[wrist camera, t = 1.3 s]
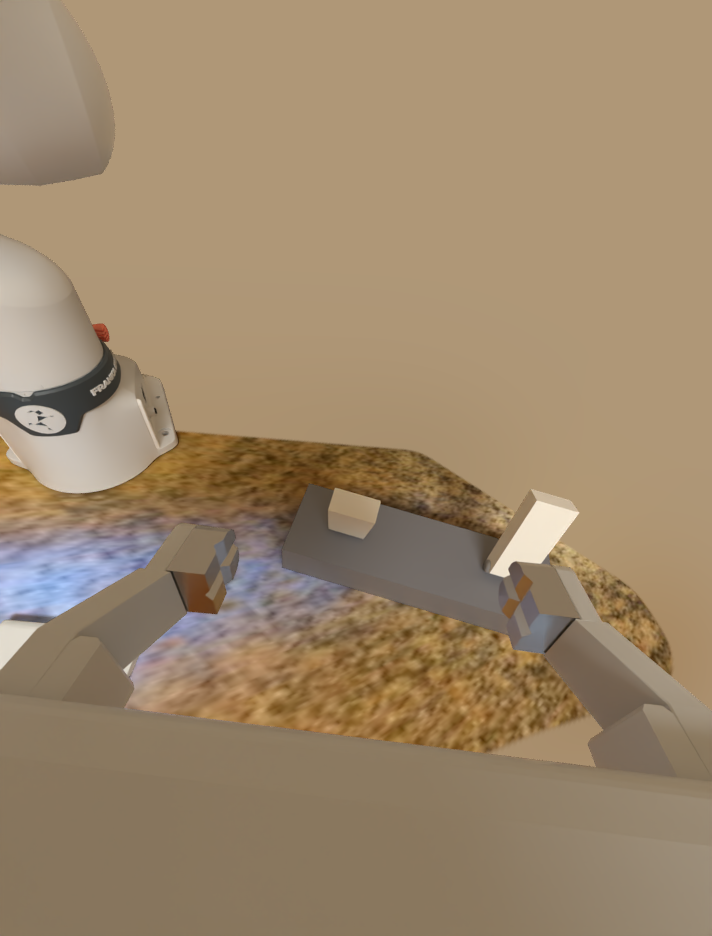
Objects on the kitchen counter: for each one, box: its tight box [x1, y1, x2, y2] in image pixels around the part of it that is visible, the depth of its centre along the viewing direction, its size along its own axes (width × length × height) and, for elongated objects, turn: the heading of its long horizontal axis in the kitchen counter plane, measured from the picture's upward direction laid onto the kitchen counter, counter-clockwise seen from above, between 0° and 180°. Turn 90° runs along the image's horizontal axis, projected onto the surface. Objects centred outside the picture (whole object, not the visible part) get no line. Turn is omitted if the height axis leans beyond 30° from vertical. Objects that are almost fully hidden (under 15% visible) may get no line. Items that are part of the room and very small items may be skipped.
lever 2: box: [483, 489, 579, 578], centre depth 34 cm, size 2×4×11 cm, turn 77°
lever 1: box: [328, 488, 381, 539], centre depth 32 cm, size 2×4×11 cm, turn 77°
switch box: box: [282, 483, 550, 635], centre depth 39 cm, size 9×30×5 cm, turn 77°
